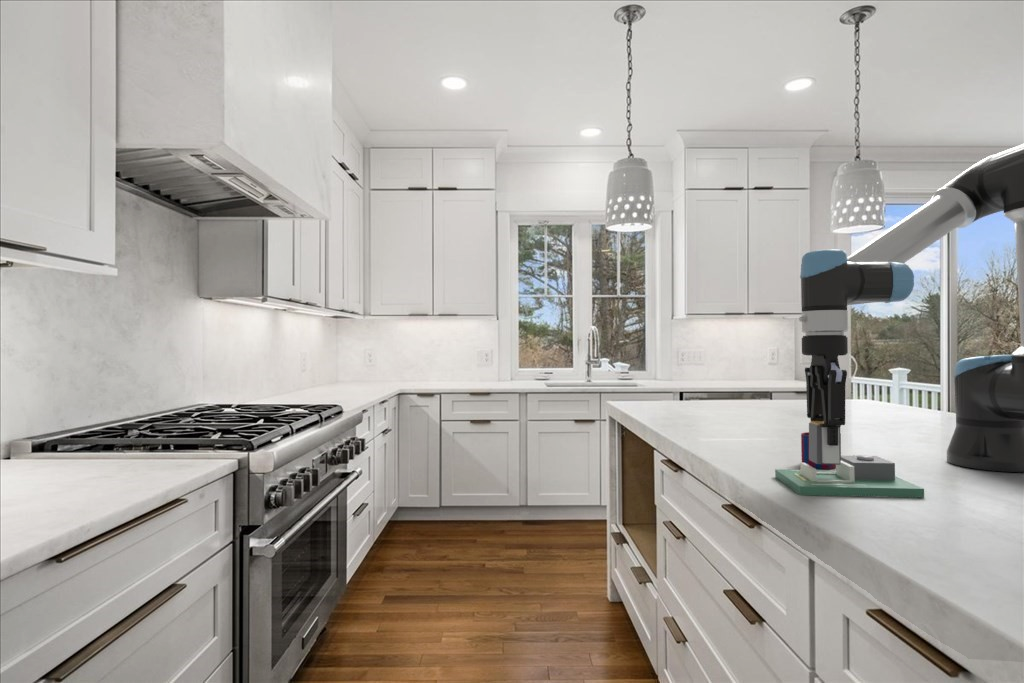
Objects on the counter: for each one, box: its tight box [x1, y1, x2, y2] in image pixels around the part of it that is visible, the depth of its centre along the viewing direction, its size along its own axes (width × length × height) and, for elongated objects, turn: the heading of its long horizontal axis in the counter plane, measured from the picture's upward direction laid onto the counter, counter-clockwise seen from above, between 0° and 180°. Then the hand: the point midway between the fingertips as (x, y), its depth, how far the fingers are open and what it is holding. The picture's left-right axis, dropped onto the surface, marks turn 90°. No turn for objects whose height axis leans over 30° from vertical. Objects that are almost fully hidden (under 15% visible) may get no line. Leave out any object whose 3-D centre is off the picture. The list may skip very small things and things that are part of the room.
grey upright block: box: [808, 420, 842, 465], centre depth 108 cm, size 4×4×7 cm
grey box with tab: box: [841, 454, 896, 480], centre depth 110 cm, size 7×7×4 cm
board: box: [774, 461, 925, 498], centre depth 108 cm, size 20×14×4 cm
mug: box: [800, 431, 836, 470], centre depth 124 cm, size 7×10×7 cm
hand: (825, 460), depth 108 cm, fingers closed on grey upright block, 4 cm apart
